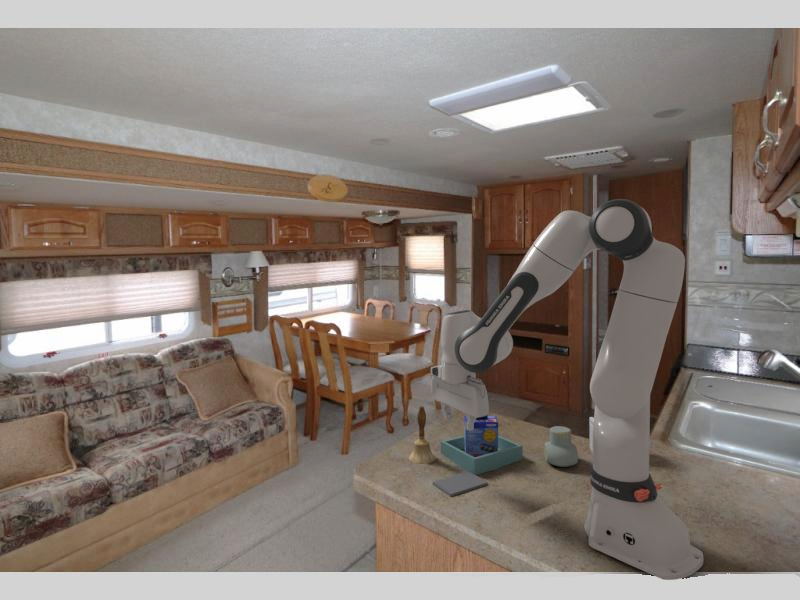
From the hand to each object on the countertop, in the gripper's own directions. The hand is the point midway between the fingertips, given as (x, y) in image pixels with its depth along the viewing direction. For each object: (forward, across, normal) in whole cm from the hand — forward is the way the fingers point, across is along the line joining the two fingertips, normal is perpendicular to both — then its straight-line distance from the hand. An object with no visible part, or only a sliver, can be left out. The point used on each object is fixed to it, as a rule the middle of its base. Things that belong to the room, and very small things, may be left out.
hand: (458, 424), depth 120 cm
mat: (+16, 0, 0) cm, 16 cm away
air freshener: (+16, -5, -33) cm, 37 cm away
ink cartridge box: (+16, +10, -16) cm, 25 cm away
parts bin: (+16, +10, -16) cm, 24 cm away
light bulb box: (+16, -9, -50) cm, 53 cm away
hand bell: (+16, +19, 0) cm, 25 cm away
